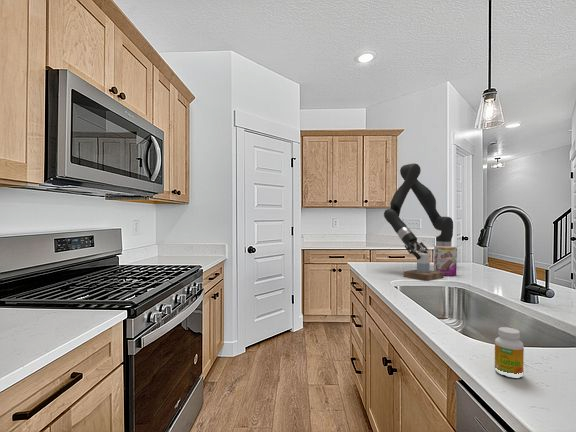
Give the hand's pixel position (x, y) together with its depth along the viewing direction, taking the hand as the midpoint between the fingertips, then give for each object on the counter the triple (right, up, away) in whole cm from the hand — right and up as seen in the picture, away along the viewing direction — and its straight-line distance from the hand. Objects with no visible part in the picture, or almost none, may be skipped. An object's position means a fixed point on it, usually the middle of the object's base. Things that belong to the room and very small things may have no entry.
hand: (424, 258), depth 192 cm
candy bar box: (+15, -11, +7) cm, 20 cm away
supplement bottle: (-26, -12, -115) cm, 118 cm away
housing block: (0, -8, +1) cm, 8 cm away
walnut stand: (0, -11, +1) cm, 11 cm away
